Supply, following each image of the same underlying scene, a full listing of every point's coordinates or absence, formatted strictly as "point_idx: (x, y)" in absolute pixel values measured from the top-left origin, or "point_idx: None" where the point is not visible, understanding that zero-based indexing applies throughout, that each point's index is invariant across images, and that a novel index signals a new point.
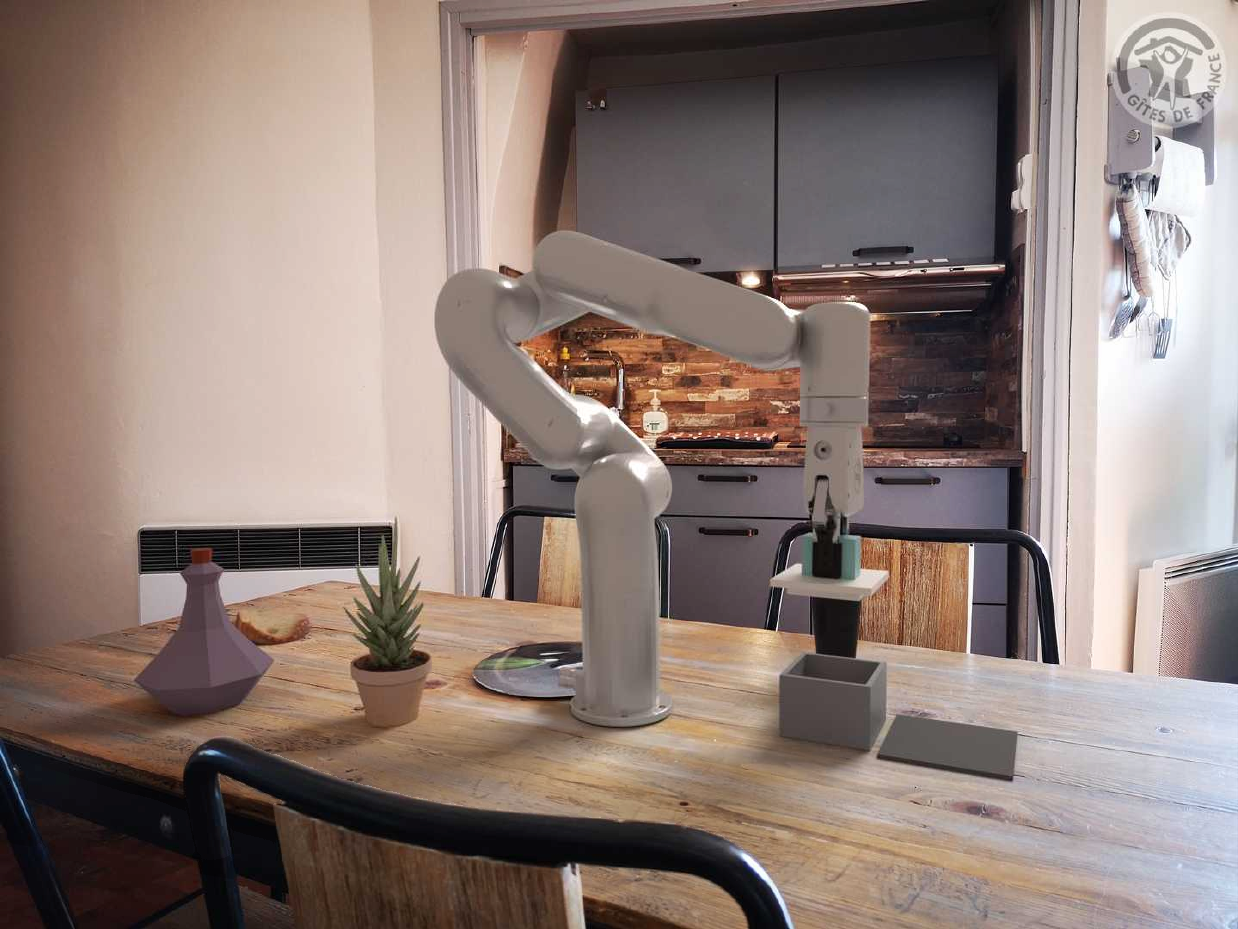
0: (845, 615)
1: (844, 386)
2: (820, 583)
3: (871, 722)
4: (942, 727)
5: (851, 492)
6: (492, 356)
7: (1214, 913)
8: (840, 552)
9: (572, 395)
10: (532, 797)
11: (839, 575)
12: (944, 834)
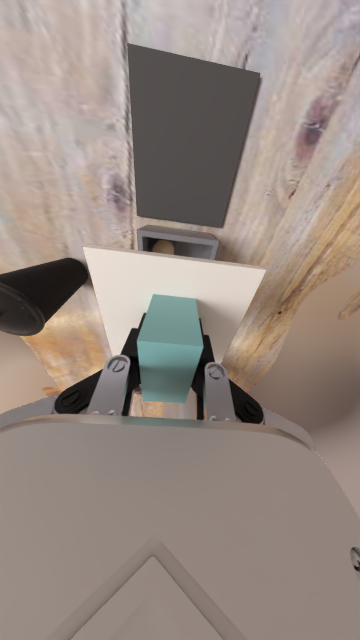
0: (48, 284)
1: None
2: (232, 333)
3: (208, 235)
4: (151, 166)
5: (322, 603)
6: None
7: None
8: (205, 346)
9: None
10: (270, 352)
11: (200, 320)
12: (344, 168)
